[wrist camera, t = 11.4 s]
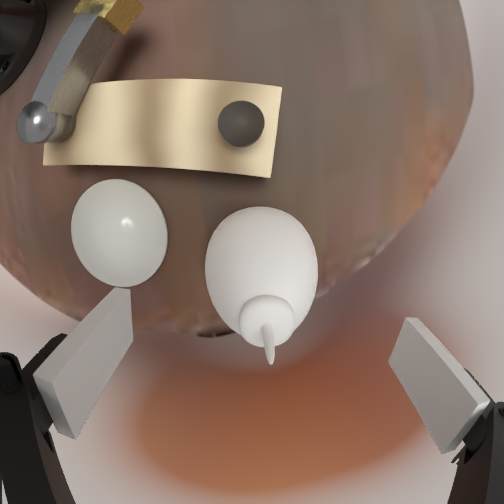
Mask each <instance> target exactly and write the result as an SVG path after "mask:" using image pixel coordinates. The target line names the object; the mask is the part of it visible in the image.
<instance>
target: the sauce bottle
mask: <svg viewBox="0 0 504 504" xmlns="http://www.w3.org/2000/svg"><path fill="white" fill-rule="evenodd" d="M205 277H206V283H207V289H208V292H209V295H210V298H211V301H212V303H213V305H214V307H215V309H216V311H217V312H218V314H219V315H220V317H221V318H222V320H223V321H224V322H225V323H226V324H227V325H228V326H229V327H230V328H231V329H232V330H234V331H235V332H237V333H238V334H240V335H242V336H243V338H244V339H245V340H246V341H247V342H249V343H250V344H252V345H255V346H258V347H265V353H266V357H267V359H268V362H269V364H271V365H272V364H273V362H274V357H275V346H277V345H280V344H282V343H284V342H285V341H287V340H288V339H289V337H290V336H291V335H292V333H293V331H294V330H295V329H296V328H297V327H298V326H299V325H300V324H301V323H302V321H303V320H304V318H305V317H306V315H307V313H308V312H309V310H310V307H311V304H312V302H313V299H314V297H315V292H316V287H317V280H318V263H317V257H316V252H315V248H314V245H313V243H312V240H311V238H310V236H309V234H308V232H307V231H306V230H305V228H304V227H303V225H302V224H301V223H300V222H299V221H298V220H296V219H295V218H294V217H293V216H292V215H290V214H288V213H286V212H284V211H282V210H279V209H275V208H271V207H261V206H259V207H249V208H245V209H241V210H238V211H236V212H234V213H232V214H230V215H229V216H228V217H226V218H225V219H224V220H223V221H221V223H220V224H219V225H218V227H217V228H216V229H215V231H214V233H213V235H212V237H211V239H210V241H209V244H208V248H207V253H206V258H205Z"/></svg>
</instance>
